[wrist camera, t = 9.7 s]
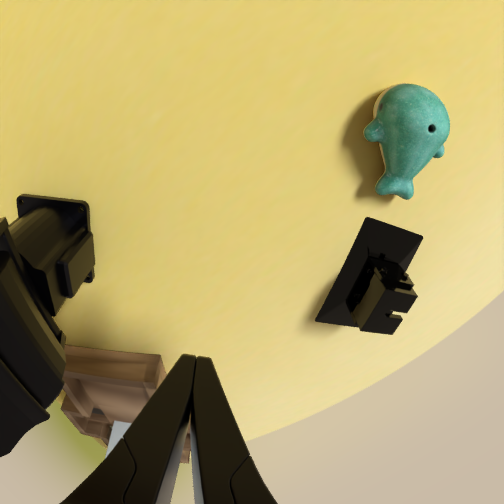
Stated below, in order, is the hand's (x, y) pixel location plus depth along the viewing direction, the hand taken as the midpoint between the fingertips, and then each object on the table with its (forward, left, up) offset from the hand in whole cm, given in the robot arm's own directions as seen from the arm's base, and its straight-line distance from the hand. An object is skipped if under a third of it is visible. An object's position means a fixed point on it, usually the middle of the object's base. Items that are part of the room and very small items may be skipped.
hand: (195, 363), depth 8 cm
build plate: (+12, -4, -13) cm, 18 cm away
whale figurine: (+10, +7, -12) cm, 17 cm away
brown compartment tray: (-7, -25, -12) cm, 29 cm away
